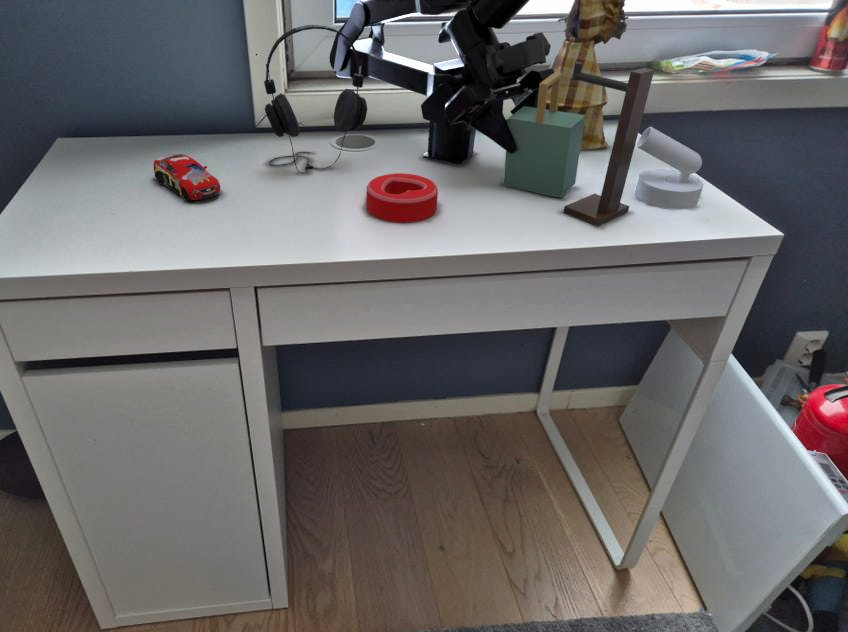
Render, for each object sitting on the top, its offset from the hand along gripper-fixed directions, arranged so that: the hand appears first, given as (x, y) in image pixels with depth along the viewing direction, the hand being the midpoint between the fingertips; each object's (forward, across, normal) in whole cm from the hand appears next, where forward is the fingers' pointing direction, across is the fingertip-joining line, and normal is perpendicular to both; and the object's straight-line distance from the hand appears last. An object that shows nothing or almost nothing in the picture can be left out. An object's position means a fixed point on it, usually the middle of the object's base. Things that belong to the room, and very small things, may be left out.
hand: (528, 147), depth 94 cm
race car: (-17, -39, +25) cm, 50 cm away
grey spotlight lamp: (+15, +12, -7) cm, 21 cm away
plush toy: (-2, +21, +10) cm, 23 cm away
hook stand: (+11, 0, -3) cm, 12 cm away
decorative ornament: (0, -20, +8) cm, 21 cm away
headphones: (-14, -19, +22) cm, 33 cm away
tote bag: (+5, +1, +2) cm, 6 cm away
